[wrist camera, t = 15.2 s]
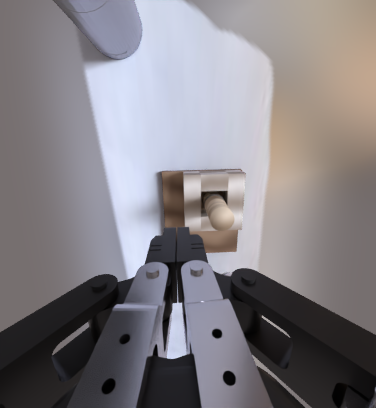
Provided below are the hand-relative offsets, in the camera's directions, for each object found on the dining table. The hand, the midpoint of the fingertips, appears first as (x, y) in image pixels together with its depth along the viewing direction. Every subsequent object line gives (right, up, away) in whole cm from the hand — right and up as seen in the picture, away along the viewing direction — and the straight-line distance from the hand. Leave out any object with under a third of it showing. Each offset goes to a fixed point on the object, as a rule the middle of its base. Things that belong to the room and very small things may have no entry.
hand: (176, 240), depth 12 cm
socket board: (+4, 0, +34) cm, 34 cm away
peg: (+6, +4, +31) cm, 32 cm away
